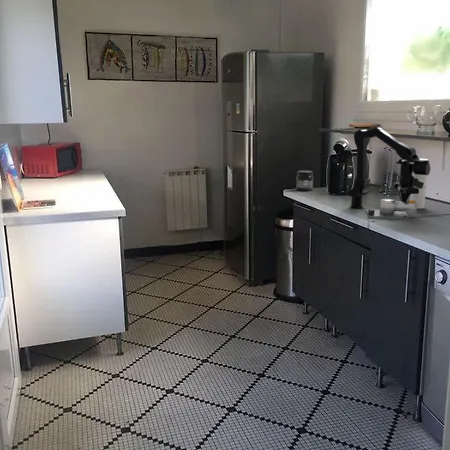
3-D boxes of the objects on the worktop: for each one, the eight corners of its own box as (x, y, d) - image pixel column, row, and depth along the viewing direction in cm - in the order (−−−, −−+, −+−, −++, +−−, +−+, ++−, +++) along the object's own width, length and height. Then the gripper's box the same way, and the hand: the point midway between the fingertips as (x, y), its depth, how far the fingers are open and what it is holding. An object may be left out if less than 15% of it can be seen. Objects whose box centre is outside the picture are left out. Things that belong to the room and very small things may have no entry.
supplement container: (305, 188, 317) (305, 170, 314) (316, 190, 308) (317, 171, 305) (292, 189, 311) (293, 171, 308) (303, 192, 303) (304, 172, 300)
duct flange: (365, 211, 244) (365, 204, 243) (403, 212, 241) (404, 205, 240) (368, 218, 229) (368, 210, 228) (409, 219, 225) (410, 212, 225)
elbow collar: (380, 213, 232) (381, 200, 230) (378, 210, 238) (379, 198, 237) (416, 215, 229) (418, 201, 227) (414, 212, 235) (415, 199, 234)
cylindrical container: (413, 205, 259) (417, 158, 254) (426, 207, 254) (431, 159, 249) (407, 207, 254) (411, 159, 249) (420, 209, 249) (424, 160, 244)
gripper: (431, 175, 225) (428, 209, 228) (414, 171, 243) (411, 202, 246) (407, 176, 224) (405, 209, 228) (392, 171, 242) (390, 202, 246)
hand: (403, 205), depth 237 cm, fingers closed
